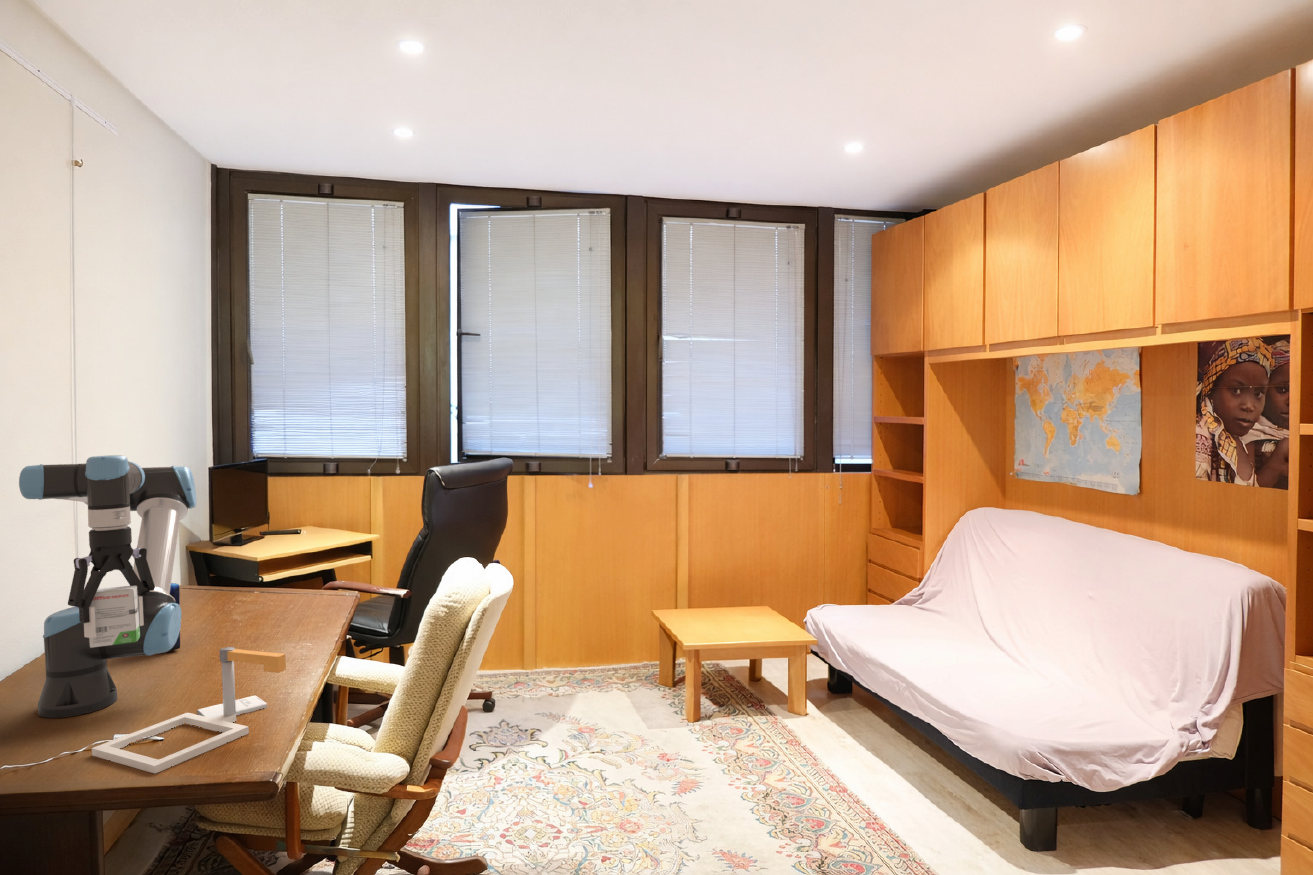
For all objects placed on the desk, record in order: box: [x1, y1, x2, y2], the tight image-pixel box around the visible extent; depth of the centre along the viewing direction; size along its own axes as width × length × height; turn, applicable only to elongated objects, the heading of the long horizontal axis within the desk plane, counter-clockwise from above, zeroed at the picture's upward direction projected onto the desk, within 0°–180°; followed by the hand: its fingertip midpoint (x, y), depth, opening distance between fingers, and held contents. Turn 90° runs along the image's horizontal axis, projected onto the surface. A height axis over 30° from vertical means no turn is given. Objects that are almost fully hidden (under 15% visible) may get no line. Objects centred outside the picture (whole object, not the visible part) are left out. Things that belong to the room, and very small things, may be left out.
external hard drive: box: [196, 695, 268, 718], centre depth 181 cm, size 2×8×12 cm
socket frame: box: [91, 661, 250, 775], centre depth 165 cm, size 20×24×14 cm
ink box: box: [89, 585, 140, 648], centre depth 170 cm, size 9×5×12 cm, turn 114°
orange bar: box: [218, 646, 287, 674], centre depth 173 cm, size 3×16×4 cm, turn 72°
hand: (114, 630), depth 170 cm, fingers closed on ink box, 9 cm apart
